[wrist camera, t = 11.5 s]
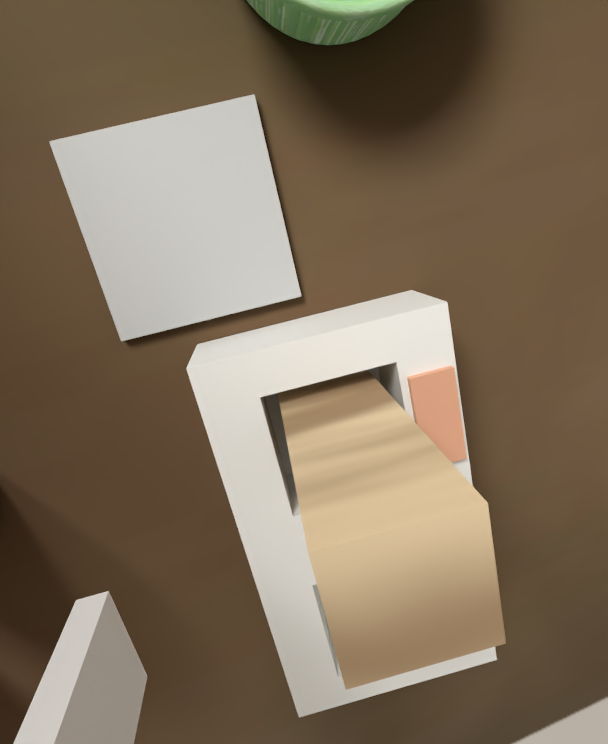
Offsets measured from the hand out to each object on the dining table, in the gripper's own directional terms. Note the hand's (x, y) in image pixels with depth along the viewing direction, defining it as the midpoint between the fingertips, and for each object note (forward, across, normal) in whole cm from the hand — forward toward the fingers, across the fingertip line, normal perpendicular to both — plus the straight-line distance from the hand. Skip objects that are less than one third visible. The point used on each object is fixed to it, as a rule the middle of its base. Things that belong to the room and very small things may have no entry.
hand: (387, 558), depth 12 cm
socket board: (+11, 0, -5) cm, 12 cm away
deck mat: (+12, -4, +9) cm, 15 cm away
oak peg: (+11, 0, 0) cm, 11 cm away
